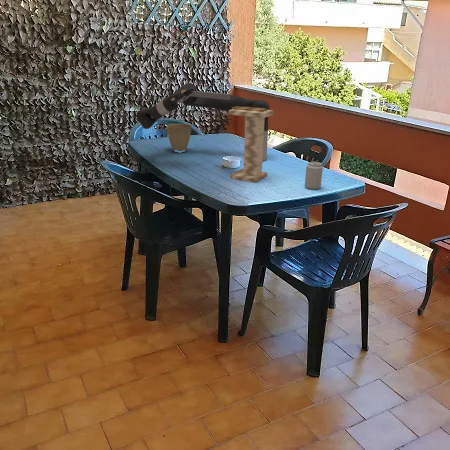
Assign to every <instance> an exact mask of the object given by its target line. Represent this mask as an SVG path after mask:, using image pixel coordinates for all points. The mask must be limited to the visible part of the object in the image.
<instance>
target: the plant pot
mask: <svg viewBox="0 0 450 450" xmlns="http://www.w3.org/2000/svg"><path fill="white" fill-rule="evenodd" d="M166 131H167V136H168V140H169V144H170V147H171V149H172V151H173V150H178V151H183V150H186V151H187V149H188V147H189V146H188V145H189V142H190V139H191V132H192V125H191V124H187V123H171V124H167V125H166Z"/></svg>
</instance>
